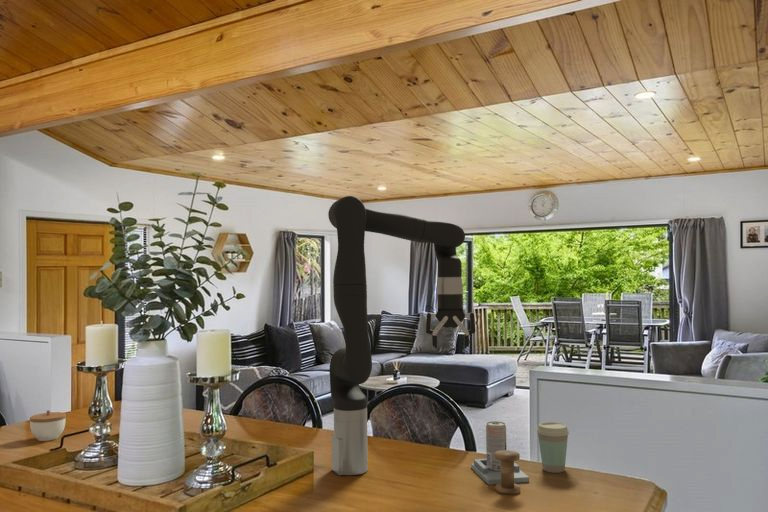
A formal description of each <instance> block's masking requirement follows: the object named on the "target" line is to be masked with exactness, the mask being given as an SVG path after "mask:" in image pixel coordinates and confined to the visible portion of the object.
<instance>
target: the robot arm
mask: <svg viewBox="0 0 768 512" xmlns="http://www.w3.org/2000/svg"><path fill="white" fill-rule="evenodd" d="M327 215H328V216H327V217H328V219H329V222H330V224H331V225H332V227H334V228H335V229H336V234H337V235H336V236H337V253H336V259H335V264H334V270H333V278H332V284H333V287H332V290H333V291H332V292H333V303H334V304H333V305H334V307H335V310H336V314H337V315H338V318H339V320H340V323H341V324H342V325H341V326H342V329H343V332H344V339H345V340H344V341H345V347H343V348H339V349H337V350H336V351H335V352H334V353H333V354H332V356H331V358H330V360H329V361H330V362H329V386H330V387H329V389H330V391H329V392H330V396H331V399H332V402H333V434H331V439H330V441H331V446H330V447H331V470H332V471H333V472H334V473H335V474H336V475H338V476H356V475H362V474H365V473H367V471H368V468H369V467H368V466H369V463H368V462H369V461H368V460H369V459H368V457H369V456H368V455H369V454H368V452H369V451H368V398H367V396H366V395H365V394H364V392H363V391H362V390H361V388H360V385H362V384H364V383H366V382H367V381H368V379H369V378H370V377H371V375H372V369H373V361H372V360H373V359H372V351H371V344H370V336H369V322H368V317H369V316H368V294H367V293H368V285H367V268H366V266H367V265H366V257H365V235H366V233H365V232H368V233H369V232H370V233H376V234H380V235H381V234H382V235H385V236H389V237H394V238H397V239H402V240H407V241H411V242H415V243H420V244H433V246H434V253H435V258H436V260H437V283H436V300H437V301H436V308H437V311H436V313H431V312H427V314H426V321H425V322H426V323H425V324H426V326H425V333H426V334H429V335H431V337H432V339H431V341H432V347H434V350H435V349H437V350H438V335H437V334H438V333H439V331H440V330H441V329H442V328H446V329H447V328H454V329H455V328H458V327H459V329H460V330H461V331H462V333H463V334H464V335H463V349H465V350H467V348H468V347H469V346H470V335H473V334H475V333H476V321H475V313H474V312H467V313H466V312H464V287H463V286H464V285H463V278H462V277H463V273H462V272H463V271H462V267H463V266H462V261H461V259H460V258H459V257H458V256H457V249H456V248H459V247H460V246H461V245H463V244H464V242H465V239H466V234H465V231H464V229H463V228H462V227H461V226H460V225H458V224H456V223H452V222H446V221H437V220H436V221H435V220H429V219H426V218H422V217H419V216H413V215H409V214H408V215H407V214H403V213H402V214H401V213H391V212H384V211H378V210H374V209H373V210H372V209H369V208H366V207H365V205H364V203H363V202H362V200H361V199H360V198H358V197H357V196H354V195H346V196H343V197H341V198H339V199H337V200H336V201H335V202H333V203H332V205H330V207H329V210H328V213H327ZM465 317H466V319H467V320H468V321H469V323H470V325H469V326H470V329H467V328H466V327H465V326H464V323H462V322H463V320H464V319H465ZM435 318H436V319H437V321H438V324H437V325H436V326H435V328H434V329H431V322H432V321H433V320H434V319H435Z"/></svg>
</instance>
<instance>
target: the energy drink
mask: <svg viewBox="0 0 768 512" xmlns="http://www.w3.org/2000/svg"><path fill="white" fill-rule="evenodd" d="M485 440H486V441H485V442H486V443H485V445H486V446H485V448H486V451H485V452H486V453H485V454H486V459H487V468H488V469H489V470H491V471H501V460H498V459H496V458H495V452H497V451H501V450H508V449H507V426H506V422H503V421H496V420H494V421H488V422H486V425H485Z"/></svg>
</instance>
